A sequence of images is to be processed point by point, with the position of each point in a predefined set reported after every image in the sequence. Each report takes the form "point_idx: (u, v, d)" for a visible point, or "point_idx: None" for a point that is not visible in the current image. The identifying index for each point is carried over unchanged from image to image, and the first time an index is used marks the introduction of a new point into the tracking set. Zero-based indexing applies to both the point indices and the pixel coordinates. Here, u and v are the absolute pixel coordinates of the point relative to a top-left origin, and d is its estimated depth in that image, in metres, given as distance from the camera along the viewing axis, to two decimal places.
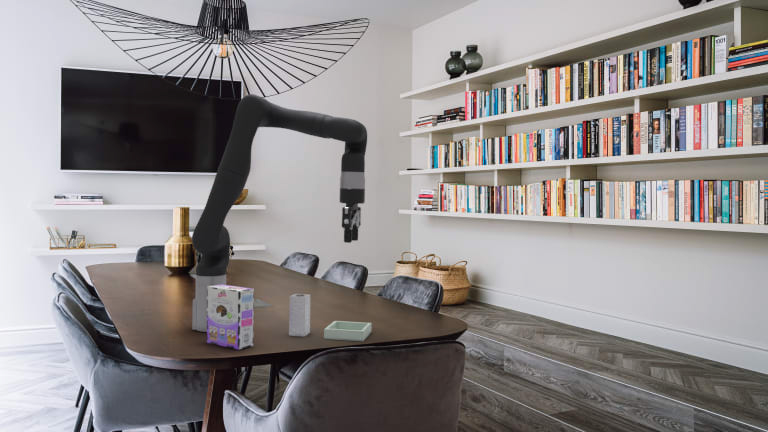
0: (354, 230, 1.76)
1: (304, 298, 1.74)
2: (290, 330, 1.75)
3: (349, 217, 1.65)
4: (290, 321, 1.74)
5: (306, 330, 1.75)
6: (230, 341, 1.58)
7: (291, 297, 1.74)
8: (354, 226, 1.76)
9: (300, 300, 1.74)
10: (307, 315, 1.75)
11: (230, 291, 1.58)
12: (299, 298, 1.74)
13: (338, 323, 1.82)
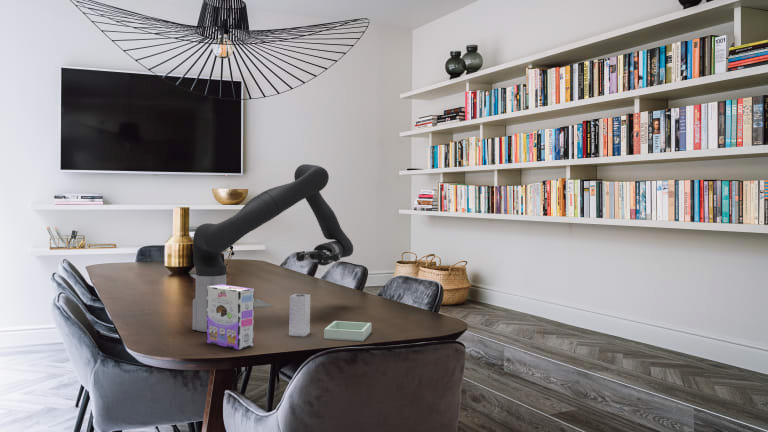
0: (303, 257, 1.90)
1: (304, 298, 1.74)
2: (290, 330, 1.75)
3: (338, 259, 1.92)
4: (290, 321, 1.74)
5: (306, 330, 1.75)
6: (230, 341, 1.58)
7: (291, 297, 1.74)
8: (304, 256, 1.92)
9: (300, 300, 1.74)
10: (307, 315, 1.75)
11: (230, 291, 1.58)
12: (299, 298, 1.74)
13: (338, 323, 1.82)
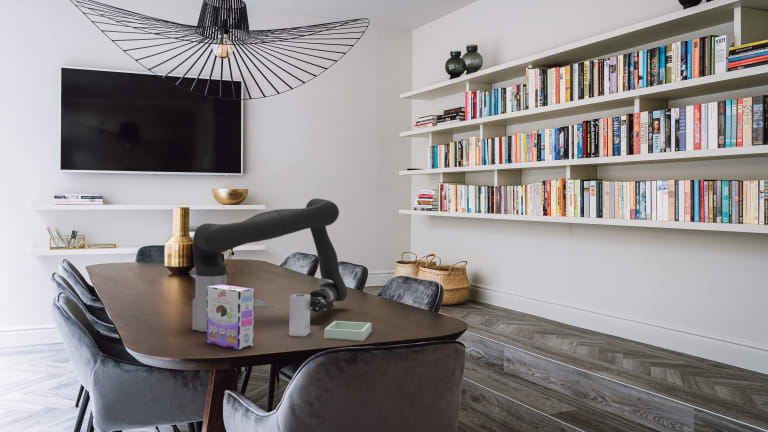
0: None
1: (304, 298, 1.74)
2: (290, 330, 1.75)
3: (333, 307, 1.89)
4: (290, 321, 1.74)
5: (306, 330, 1.75)
6: (230, 341, 1.58)
7: (291, 297, 1.74)
8: None
9: (300, 300, 1.74)
10: (307, 315, 1.75)
11: (230, 291, 1.58)
12: (299, 298, 1.74)
13: (338, 323, 1.82)
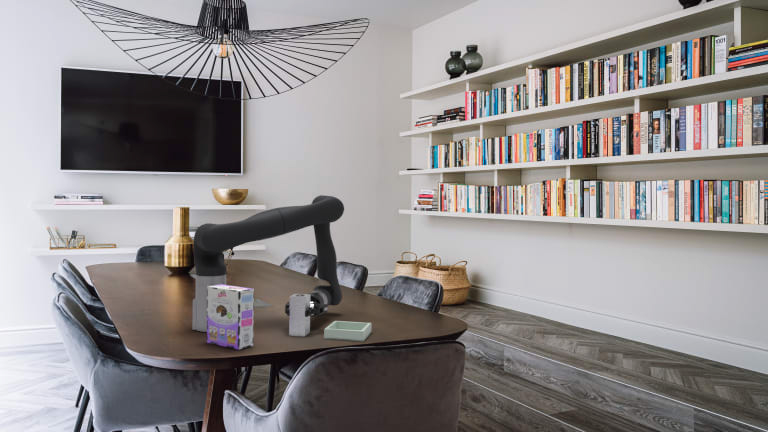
0: None
1: (304, 298, 1.74)
2: (290, 330, 1.75)
3: (323, 312, 1.80)
4: (290, 321, 1.74)
5: (306, 330, 1.75)
6: (230, 341, 1.58)
7: (291, 297, 1.74)
8: None
9: (300, 300, 1.74)
10: None
11: (230, 291, 1.58)
12: (299, 298, 1.74)
13: (338, 323, 1.82)
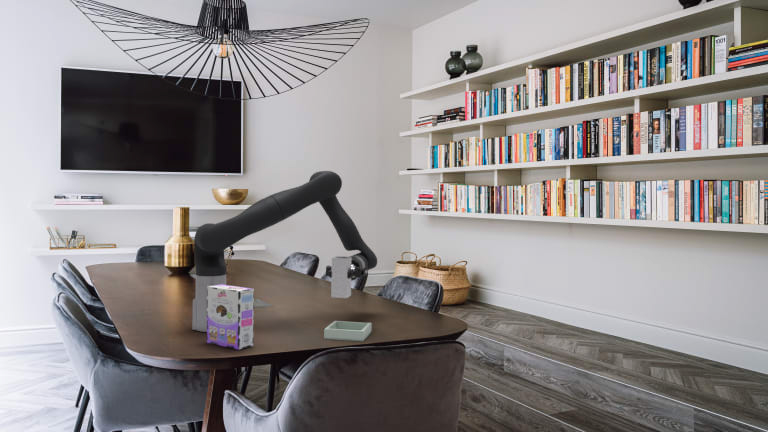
0: None
1: (346, 260, 1.73)
2: (332, 292, 1.74)
3: (363, 275, 1.79)
4: (332, 283, 1.74)
5: (348, 292, 1.74)
6: (230, 341, 1.58)
7: (333, 259, 1.74)
8: None
9: (342, 262, 1.73)
10: None
11: (230, 291, 1.58)
12: (341, 260, 1.73)
13: (338, 323, 1.82)
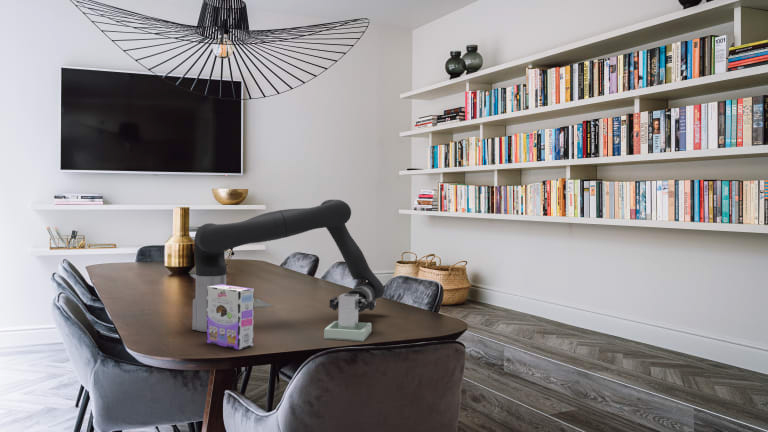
0: (337, 305, 1.78)
1: (353, 298, 1.73)
2: None
3: (374, 307, 1.80)
4: (339, 321, 1.74)
5: None
6: (230, 341, 1.58)
7: (340, 297, 1.74)
8: None
9: (349, 300, 1.73)
10: (355, 314, 1.75)
11: (230, 291, 1.58)
12: (348, 298, 1.73)
13: None
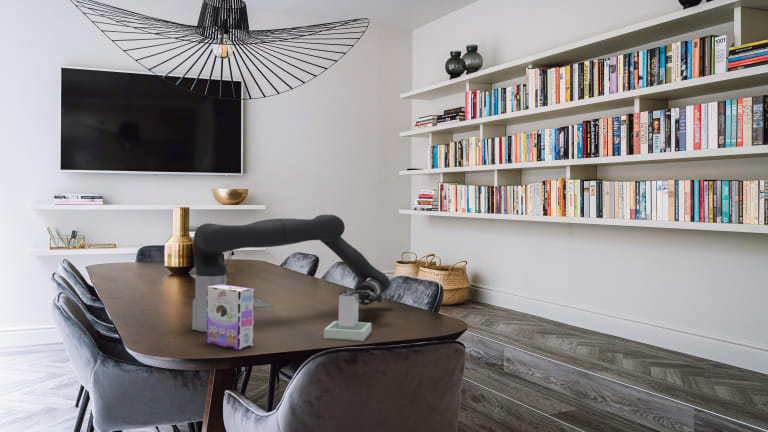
0: None
1: (353, 298, 1.73)
2: None
3: (382, 300, 1.92)
4: (339, 321, 1.74)
5: None
6: (230, 341, 1.58)
7: (340, 297, 1.74)
8: None
9: (349, 300, 1.73)
10: (355, 314, 1.75)
11: (230, 291, 1.58)
12: (348, 298, 1.73)
13: None
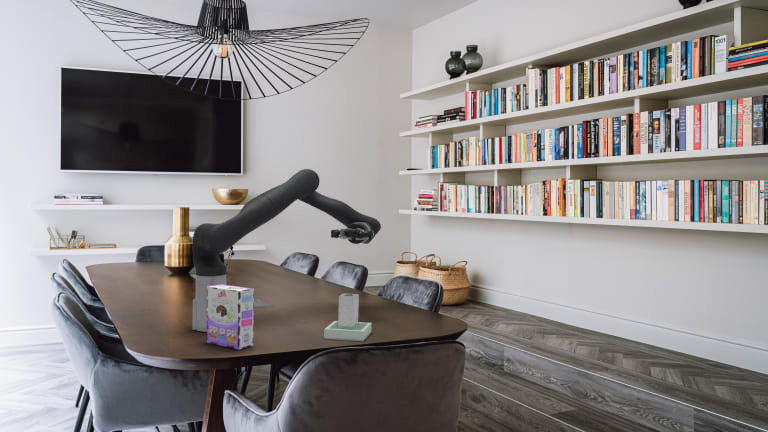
0: (338, 234, 1.93)
1: (353, 298, 1.73)
2: None
3: (372, 237, 1.95)
4: (339, 321, 1.74)
5: None
6: (230, 341, 1.58)
7: (340, 297, 1.74)
8: None
9: (349, 300, 1.73)
10: (355, 314, 1.75)
11: (230, 291, 1.58)
12: (348, 298, 1.73)
13: None
